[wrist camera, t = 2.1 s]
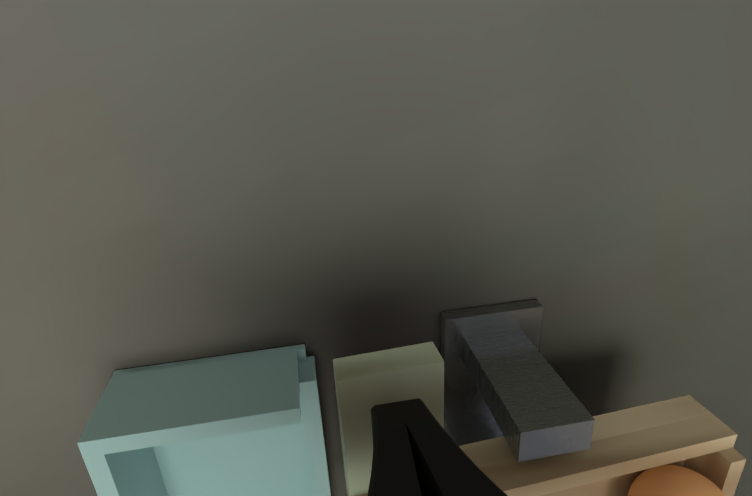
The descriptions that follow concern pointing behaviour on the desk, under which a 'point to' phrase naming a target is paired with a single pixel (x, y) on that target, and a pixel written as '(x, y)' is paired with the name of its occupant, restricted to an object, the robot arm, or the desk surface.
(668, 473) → the ball
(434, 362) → the beige tray
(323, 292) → the desk surface
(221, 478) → the dish
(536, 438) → the stand
